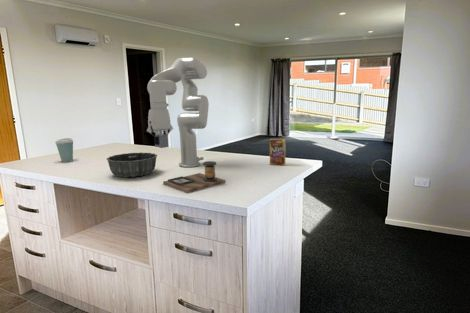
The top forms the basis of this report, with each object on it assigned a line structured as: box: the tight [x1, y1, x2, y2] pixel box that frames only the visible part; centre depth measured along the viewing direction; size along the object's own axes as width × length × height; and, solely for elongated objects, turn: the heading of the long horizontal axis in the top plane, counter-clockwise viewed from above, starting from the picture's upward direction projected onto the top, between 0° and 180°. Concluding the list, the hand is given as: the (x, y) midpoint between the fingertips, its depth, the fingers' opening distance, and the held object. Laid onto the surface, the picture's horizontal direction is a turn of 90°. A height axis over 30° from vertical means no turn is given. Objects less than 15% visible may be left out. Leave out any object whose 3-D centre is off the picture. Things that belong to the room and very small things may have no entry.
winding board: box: [162, 160, 226, 194], centre depth 154 cm, size 22×20×10 cm
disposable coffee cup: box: [54, 137, 74, 163], centre depth 214 cm, size 11×11×15 cm
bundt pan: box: [106, 151, 158, 178], centre depth 177 cm, size 26×26×10 cm
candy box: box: [269, 138, 287, 166], centre depth 190 cm, size 9×4×15 cm, turn 71°
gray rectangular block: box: [154, 133, 169, 149], centre depth 158 cm, size 4×6×6 cm, turn 43°
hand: (161, 143), depth 159 cm, fingers closed on gray rectangular block, 3 cm apart
